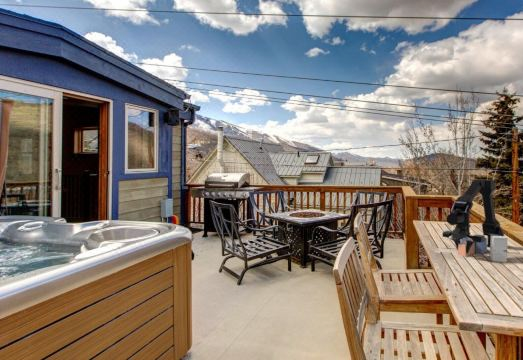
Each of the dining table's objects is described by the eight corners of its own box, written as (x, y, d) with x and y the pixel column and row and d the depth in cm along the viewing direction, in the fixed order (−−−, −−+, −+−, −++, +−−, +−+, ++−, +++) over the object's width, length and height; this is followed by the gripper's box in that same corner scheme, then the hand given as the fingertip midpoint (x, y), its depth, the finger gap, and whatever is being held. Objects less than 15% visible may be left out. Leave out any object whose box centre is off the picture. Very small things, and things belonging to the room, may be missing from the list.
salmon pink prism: (469, 250, 179) (469, 240, 179) (476, 252, 176) (476, 241, 176) (458, 255, 171) (458, 243, 171) (465, 256, 168) (465, 245, 168)
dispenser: (466, 248, 184) (466, 235, 184) (486, 251, 176) (486, 238, 176) (460, 250, 180) (460, 237, 180) (481, 254, 172) (481, 240, 172)
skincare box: (493, 261, 159) (493, 237, 158) (489, 259, 163) (489, 235, 163) (507, 262, 157) (507, 237, 156) (504, 259, 161) (504, 235, 161)
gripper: (437, 222, 173) (437, 251, 173) (476, 227, 158) (476, 259, 158) (447, 220, 179) (447, 248, 180) (485, 224, 164) (485, 254, 165)
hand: (463, 252), depth 171 cm, fingers closed on salmon pink prism, 3 cm apart
